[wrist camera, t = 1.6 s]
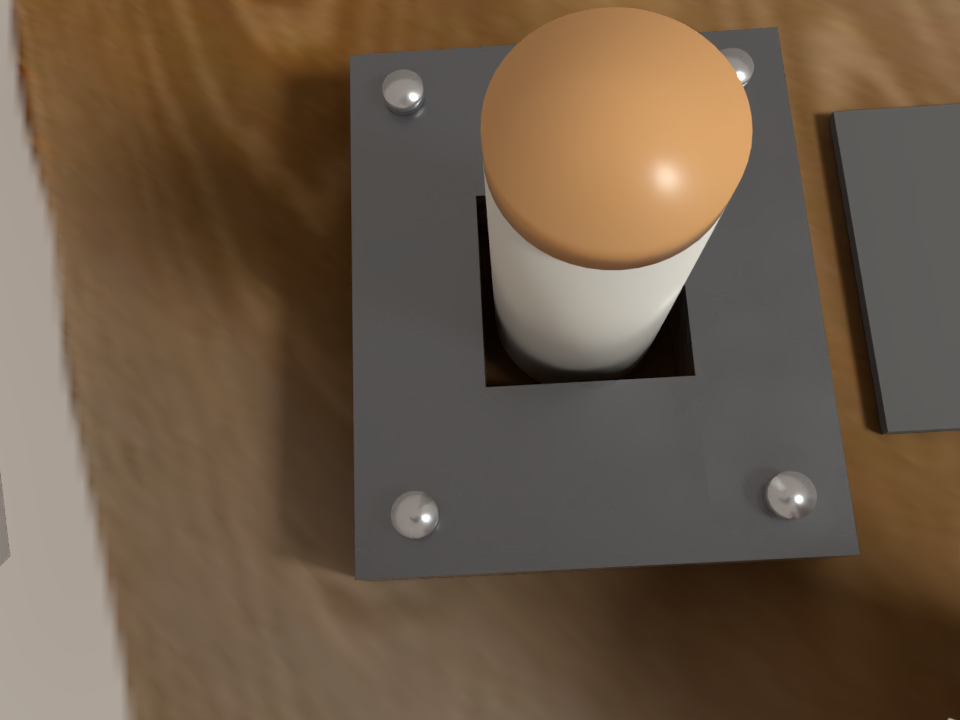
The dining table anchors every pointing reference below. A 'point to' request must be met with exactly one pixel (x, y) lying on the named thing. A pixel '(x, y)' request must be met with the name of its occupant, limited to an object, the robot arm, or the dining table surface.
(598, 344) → the white capped post
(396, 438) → the plate
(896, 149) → the mat
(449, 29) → the dining table surface
